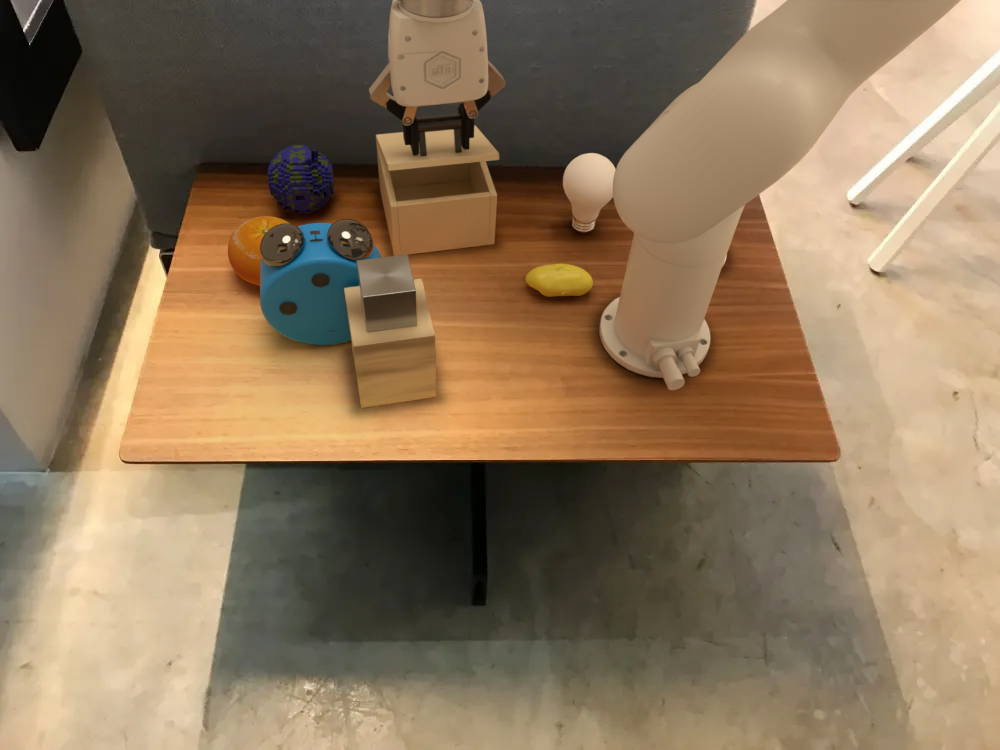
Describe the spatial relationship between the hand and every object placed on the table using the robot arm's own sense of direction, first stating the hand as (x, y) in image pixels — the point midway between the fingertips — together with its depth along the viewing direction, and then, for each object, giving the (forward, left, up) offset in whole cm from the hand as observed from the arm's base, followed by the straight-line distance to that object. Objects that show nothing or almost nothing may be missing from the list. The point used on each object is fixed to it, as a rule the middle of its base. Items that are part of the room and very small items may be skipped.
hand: (438, 143), depth 97 cm
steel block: (-22, +9, -3) cm, 24 cm away
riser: (-22, +9, -13) cm, 27 cm away
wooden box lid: (+3, 0, -3) cm, 4 cm away
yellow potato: (-13, -12, -13) cm, 22 cm away
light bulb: (-3, -18, -13) cm, 23 cm away
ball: (+8, +16, -13) cm, 22 cm away
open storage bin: (+3, 0, -13) cm, 13 cm away
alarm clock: (-14, +15, -13) cm, 24 cm away
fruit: (-4, +21, -13) cm, 25 cm away
